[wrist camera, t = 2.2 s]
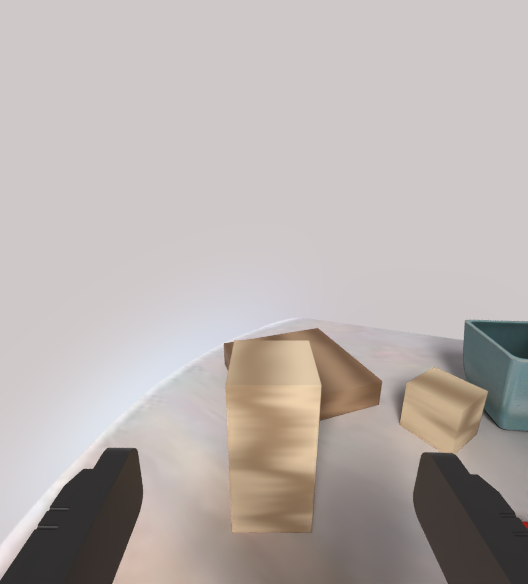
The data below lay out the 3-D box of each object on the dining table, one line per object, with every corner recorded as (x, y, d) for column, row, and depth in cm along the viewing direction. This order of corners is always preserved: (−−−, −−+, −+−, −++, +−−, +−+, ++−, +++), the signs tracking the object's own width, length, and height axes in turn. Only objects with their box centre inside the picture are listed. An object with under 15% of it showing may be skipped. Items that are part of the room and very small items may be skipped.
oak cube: (426, 406, 35) (434, 366, 33) (476, 434, 31) (488, 391, 29) (399, 425, 32) (406, 383, 30) (450, 459, 28) (461, 412, 26)
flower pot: (447, 387, 38) (462, 317, 35) (526, 391, 37) (549, 321, 34) (490, 443, 30) (514, 359, 27) (593, 451, 29) (630, 364, 26)
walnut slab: (316, 346, 47) (317, 328, 46) (378, 404, 35) (382, 381, 34) (224, 363, 43) (223, 343, 42) (258, 437, 30) (258, 411, 29)
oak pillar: (302, 465, 27) (309, 340, 23) (311, 532, 22) (321, 385, 18) (238, 465, 27) (234, 340, 23) (232, 532, 22) (225, 385, 18)
